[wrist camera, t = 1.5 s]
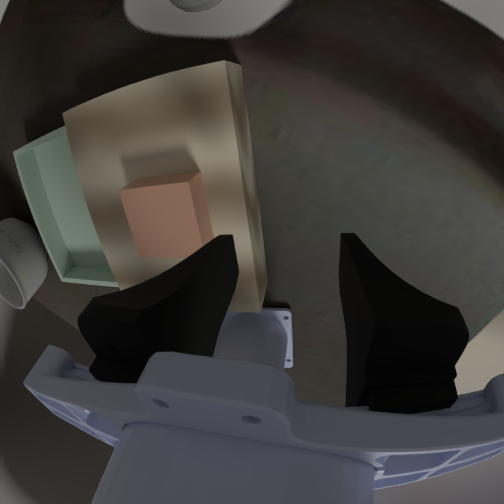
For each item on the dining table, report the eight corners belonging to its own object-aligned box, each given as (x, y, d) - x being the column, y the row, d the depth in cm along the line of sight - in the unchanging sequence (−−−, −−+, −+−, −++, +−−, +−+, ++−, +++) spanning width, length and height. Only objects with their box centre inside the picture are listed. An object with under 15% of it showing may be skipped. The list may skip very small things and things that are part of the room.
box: (137, 269, 28) (123, 287, 26) (76, 266, 30) (62, 281, 28) (92, 116, 20) (69, 123, 17) (32, 143, 22) (13, 152, 19)
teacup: (50, 218, 27) (4, 255, 20) (65, 286, 33) (32, 324, 27) (-4, 197, 27) (-42, 224, 21) (10, 256, 34) (-20, 285, 27)
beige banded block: (268, 281, 26) (260, 312, 22) (144, 277, 28) (126, 302, 25) (241, 65, 16) (224, 60, 13) (94, 104, 19) (62, 112, 16)
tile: (214, 241, 19) (205, 257, 18) (152, 242, 21) (140, 257, 19) (200, 171, 17) (188, 181, 15) (134, 179, 18) (118, 190, 16)
